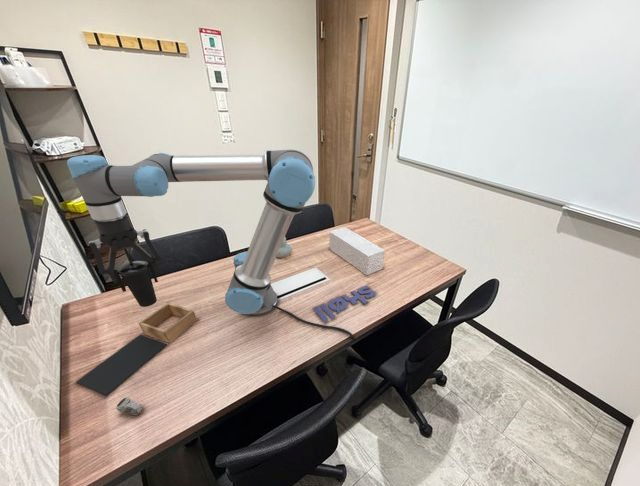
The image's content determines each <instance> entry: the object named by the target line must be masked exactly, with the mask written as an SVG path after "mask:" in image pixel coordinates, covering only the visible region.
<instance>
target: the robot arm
mask: <svg viewBox="0 0 640 486" xmlns="http://www.w3.org/2000/svg"><path fill="white" fill-rule="evenodd" d="M66 165H67V167H68V170H69V172H70V175H71V179H72V180H73V182H74V184H75V185H76V187H77V190H78V191H79V193H80V195H81V196H82V199H83V201H84V204H85V207H86V209H87V211H88V213H89V216H90V218H91V219H92V220H93V223H94V225H95V227H96V230H97V232H98V234H99V238H96V239H94V240H93V239H89V240H88V247H89V248H90V249H91V250H92V252H93V254H94V258H95V261H96V262H95V263H96V267H97V269H98V274H99V275H101V276H104V275H109V277H110V279H111V281H112V283H114V284H117V283H118V284H119V287H120V288H121V290H122V292H123V293H125V292H127V287H126V285H125V284H124V283H125V282H123V281H124V280H123V278H122V277H121V275H120V274H118V272H117V270H118V268H117V269H115V266H116V258H117V253H118V250H122V249H125V248H126V249H128V248H132V249H133V250H135V251H136V252H137V253H138V254H139V255H141V257H143V258H144V259H145V260H146V262H147V263H148V269H149V271H150V273H151V275H152V278H153V280H154V283H155V284H156V283H159V280H158V277H157V276H156V272H159V268H158V266H157V264H156V263H157V262H158V261H161V260H162V257H161V255H160V253H159V252H158V250H157V248H156V247H155V246H154V244H153V242H152V240H151V238H150V233H149V231H148V230H147V229H146V228H145V229H142V230H136V229H135V228H134V227H133V224H132V221H131V219H130V217H129V214H127V213H128V212H127V210H126V207H125V204H124V202H123V199H122V197H147V198H148V197H149V198H153V197H162V196H165V195H166V194H167V193H168V189H169V183H184V182H186V183H187V182H191V183H192V182H235V181H238V182H239V181H266V182H267V183H266V185H265V188H264V191H263V192H262V193H263V194H262V196H263V199H264V200H265V205H264V207H263V210H262V212H261V215H260V217H259V219H258V223H257V225H256V228H255V231H254V233H253V236H252V239H251V242H250V243H249V247H248V249H247V251H243V252H239V253H237V254H236V255H235V256H234V257H233V265H234V272H233V275H232V277H231V279H230V283H229V286H228V288H227V291H226V293H225V298H224V302H225V305H226V306H227V307H228V308H229V310H231V311H232V312H234V313H237V314H240V315H247V316H260V315H264V314H267V313H269V312H271V311H272V310H274V309H276V310H278V311H280V312H282V313H284V314H286V315H289V316H291V317H292V318H294V319H296V321H299V322H301V323H304V324H306V325H310V326H314V327H318V328H323V329H329V330H335V331H340V332H343V333H345V334H347V335H348V336H350V337H351V338H352V340H353V341H357V338H356V337H355V335H354V334H352V333H351V332H350V331H349V330H347V329H344V328H342V327H337V326H332V325H326V324H321V323H316V322H311V321H308V320H305V319H302V318H300V317H298V316H297V315H295V314H293V313H292V312H290V311H288V310H286V309H284V308H281V307H280V306H277V304H278V295H277V293H276V292H275V291H274V288H273V286H272V283H271V280H272V277H271V275H270V272H271V270H272V267H273V265H274V263H275V261H276V258H277V257H276V256H277V254H278V251H279V249H280V247H281V244H282V242H283V240H284V237H286V235H287V233H288V230H289V228H290V226H291V224H292V222H293V220H294V216H295V215H298V214H301V213H302V211H303V210H304V207H305V205H306V203H307V202H308V201H309V200H310V198H311V197H312V196H313V194H314V191H315V187H316V177H315V173H314V167H313V164H312V161H311V159H310V158H309V157H308V156H307V155H306V154H305V153H304V152H302V151H301V150H296V149H278V150H265V151H264V152H263V153H262V154H260V153H259V154H258V153H257V154H253V153H252V154H181V155H180V154H179V155H178V154H176V155H172V154H169V153H165V152H158V153H154V154H151V155H150V156H148V157H146V158H144V159H142V160H140V161H138V162H136V163H134V164H132V165H111V164H110V165H109V163H108V162H107V160H106V158H105V157H104V156H103V155H97V154H87V155H84V154H83V155H78V156H77V155H76V156H72V157H70V158H68V159H67V161H66ZM138 236H139V237H140V239H144V241H145V243H146V245H147V246H148V248H149V250H150V251H151V253H152V254H153V256H152V255H151V254H149V252H148V251H146V249H144V248H143V247H142V246H141V245H140V244H139V243H138V242H137V241H136V239H137V238H138ZM101 244H104V245H106V246H108V247H109V251H108V252H109V254H108V263H107V267H105V265H104V263H103V258H102V253H101V250H100V248H101V247H102V245H101Z"/></svg>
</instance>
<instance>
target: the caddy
mask: <svg viewBox="0 0 640 486" xmlns="http://www.w3.org/2000/svg"><path fill="white" fill-rule="evenodd" d="M172 315H173V316H176V317H180V319H178V320H177V321H176V322H174V323H173V324H172V325H170V327H168V328H167V329H166V330H165V329H163V328H159V327H157V326H158V325H160V324H162V323H163V322H164V321H165V320H167V319H168V318H169V317H171V316H172ZM197 321H198V319H197V316H196V313H195V310H193V309H190V308H187V307H183V306H181V305H177V304H174V303H171V302H167V303H166V304H164V305H162V306H161V307H160V308H159V309H157V310H155V311H154V312H152V313H151V314H150V315H148V316H146V318H144V319H143V320H141V321H140V322H138V325H139V327H140V329H141V332H142V334H144V335H146V336H149V337H150V338H153V339H154V338H155V339H157V340H160V341H163V342H165V343H168V344H171V343H172V342H173V341H174V340H176V339H177V338H178V337H180V336H181V335H182V334H183V333H184V332H185V331H187V330H188V329H189V328H190V327H191V326H193V324H195V323H196V322H197Z"/></svg>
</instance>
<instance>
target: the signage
mask: <svg viewBox="0 0 640 486" xmlns="http://www.w3.org/2000/svg"><path fill="white" fill-rule="evenodd" d="M351 295H353V296H352V297H350V296H348V295H346V294H345V295H341V297H339V296H340V295H339V296H337V297H336V298H333V299H331V300H330V301H329V302H328V305H326V303H322V304H320V305H319V307H318V306H314V307H312V310H313V311H314V312H315V313H316V315H318V317H319V318H320V319H321V321H322V322H323V323H326V322H328V320H329V318H330V319H331V320H333V319H334V318H335V317H336V315H335V314H334V313H333V312H336V314H339V313H340V312H342V311H344V310H346V309H347V307H348V303H350V304H351V305H352V306H354V305H356V304H358V302H357V301H360V302H361V303H362V304H363V305H364V306H365V305H366V304H368V299H369V300H370V299H372V298H373V297H375V295H376V292H375V290H372V289H370V287H369V286H368V285H365V286H362V287H360V288H359V289H358V290H357V291H356V290H353V291H351ZM363 296H364V297H363ZM335 305H336V306H335ZM320 308H321V309H322V310H323V311H324V312H325V313H324V312H323V311H322V310H321V309H320ZM326 315H327V316H328V317H329V318H328V317H327V316H326Z"/></svg>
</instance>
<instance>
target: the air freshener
mask: <svg viewBox="0 0 640 486" xmlns="http://www.w3.org/2000/svg"><path fill="white" fill-rule="evenodd" d="M292 252H293V248H292V246H291V244H289V243H288V242H287V237H286V236H285V237H284V240H283V242H282V244H281V247H280V249H279V251H278V254H277V256H276V258H281V259H282V258H287V257H288V256H290V255H291V254H292Z"/></svg>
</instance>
